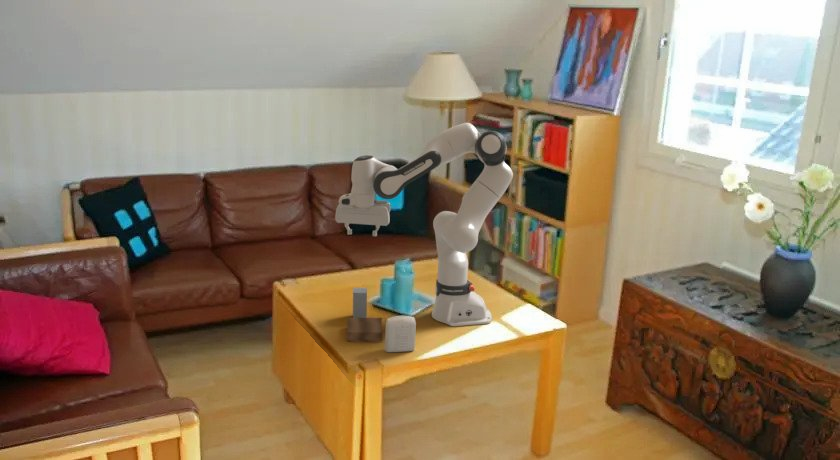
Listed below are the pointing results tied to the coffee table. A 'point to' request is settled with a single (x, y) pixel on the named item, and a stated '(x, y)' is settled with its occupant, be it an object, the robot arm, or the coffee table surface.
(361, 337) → the walnut block
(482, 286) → the coffee table surface
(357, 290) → the grey pillar
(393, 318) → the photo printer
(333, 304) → the coffee table surface
